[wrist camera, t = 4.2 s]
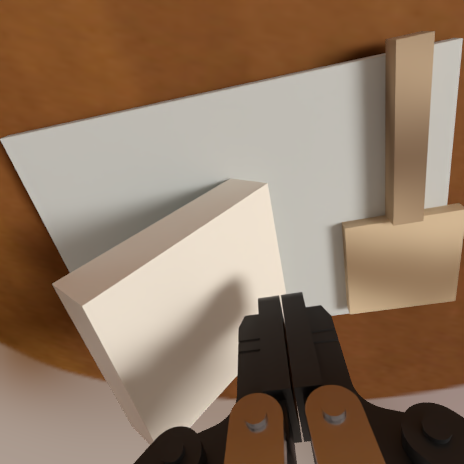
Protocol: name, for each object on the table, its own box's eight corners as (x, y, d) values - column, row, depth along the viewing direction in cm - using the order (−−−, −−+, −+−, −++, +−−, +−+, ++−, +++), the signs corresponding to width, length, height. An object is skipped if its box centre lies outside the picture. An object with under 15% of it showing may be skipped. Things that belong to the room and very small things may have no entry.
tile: (228, 178, 15) (49, 283, 10) (267, 182, 14) (82, 305, 9) (256, 302, 18) (130, 424, 14) (290, 316, 17) (162, 457, 12)
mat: (8, 135, 15) (-1, 138, 15) (453, 38, 13) (462, 38, 12) (110, 336, 21) (107, 344, 20) (432, 294, 18) (437, 301, 18)
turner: (330, 51, 13) (336, 52, 12) (480, 18, 12) (498, 16, 11) (347, 306, 18) (351, 319, 17) (449, 292, 18) (459, 306, 17)
